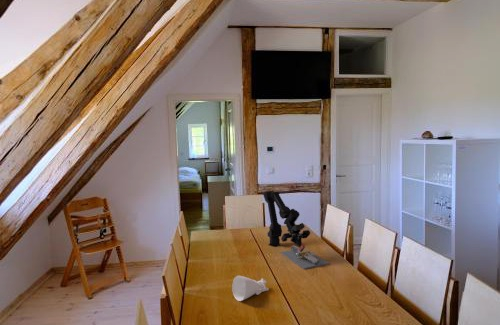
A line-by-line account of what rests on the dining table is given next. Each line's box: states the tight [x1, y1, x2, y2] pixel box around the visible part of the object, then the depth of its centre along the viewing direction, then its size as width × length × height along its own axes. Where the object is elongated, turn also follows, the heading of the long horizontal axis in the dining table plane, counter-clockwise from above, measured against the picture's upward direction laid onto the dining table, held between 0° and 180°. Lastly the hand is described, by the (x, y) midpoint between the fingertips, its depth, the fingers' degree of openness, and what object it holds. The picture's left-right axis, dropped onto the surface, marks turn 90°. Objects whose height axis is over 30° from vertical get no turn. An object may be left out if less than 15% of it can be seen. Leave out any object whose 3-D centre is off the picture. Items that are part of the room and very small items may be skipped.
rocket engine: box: [231, 275, 270, 302], centre depth 161 cm, size 12×12×18 cm
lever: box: [296, 244, 306, 257], centre depth 200 cm, size 2×3×12 cm
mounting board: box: [280, 247, 330, 270], centre depth 205 cm, size 28×18×1 cm, turn 23°
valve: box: [291, 244, 319, 265], centre depth 205 cm, size 26×6×5 cm, turn 23°
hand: (301, 247), depth 199 cm, fingers closed, pressing on lever
